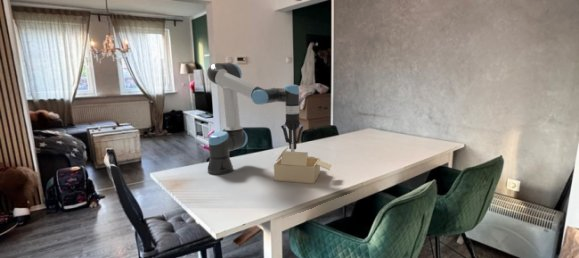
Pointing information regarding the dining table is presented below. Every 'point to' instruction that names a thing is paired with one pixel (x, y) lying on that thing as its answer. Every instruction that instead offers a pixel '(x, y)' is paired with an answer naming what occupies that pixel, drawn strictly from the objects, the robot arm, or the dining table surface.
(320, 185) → the dining table surface
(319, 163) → the flap
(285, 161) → the flap
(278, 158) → the flap
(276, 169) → the carton
